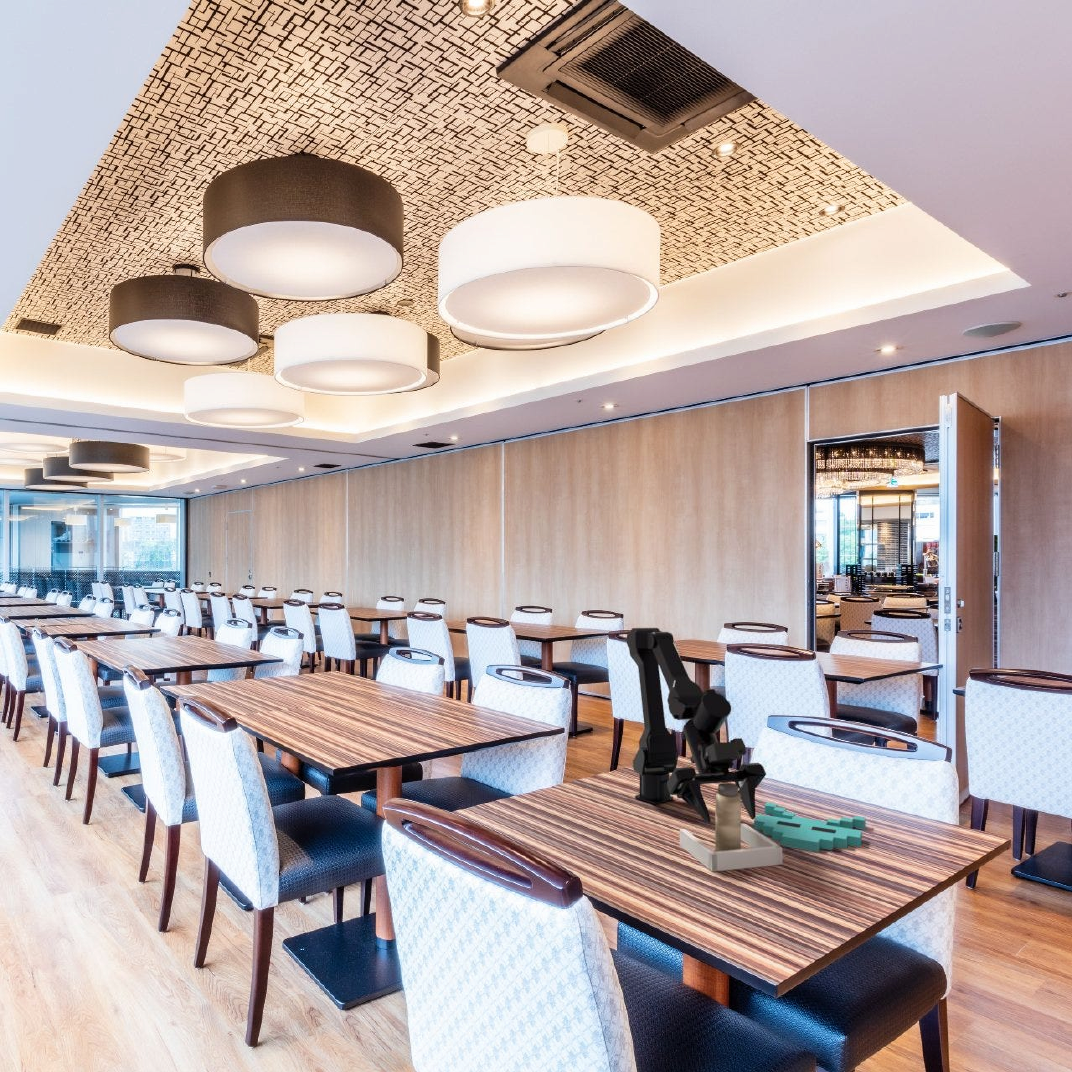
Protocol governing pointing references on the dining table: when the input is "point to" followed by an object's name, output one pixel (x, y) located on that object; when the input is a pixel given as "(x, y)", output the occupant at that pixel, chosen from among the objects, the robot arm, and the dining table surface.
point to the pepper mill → (727, 818)
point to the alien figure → (809, 830)
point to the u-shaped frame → (735, 851)
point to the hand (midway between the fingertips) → (731, 820)
